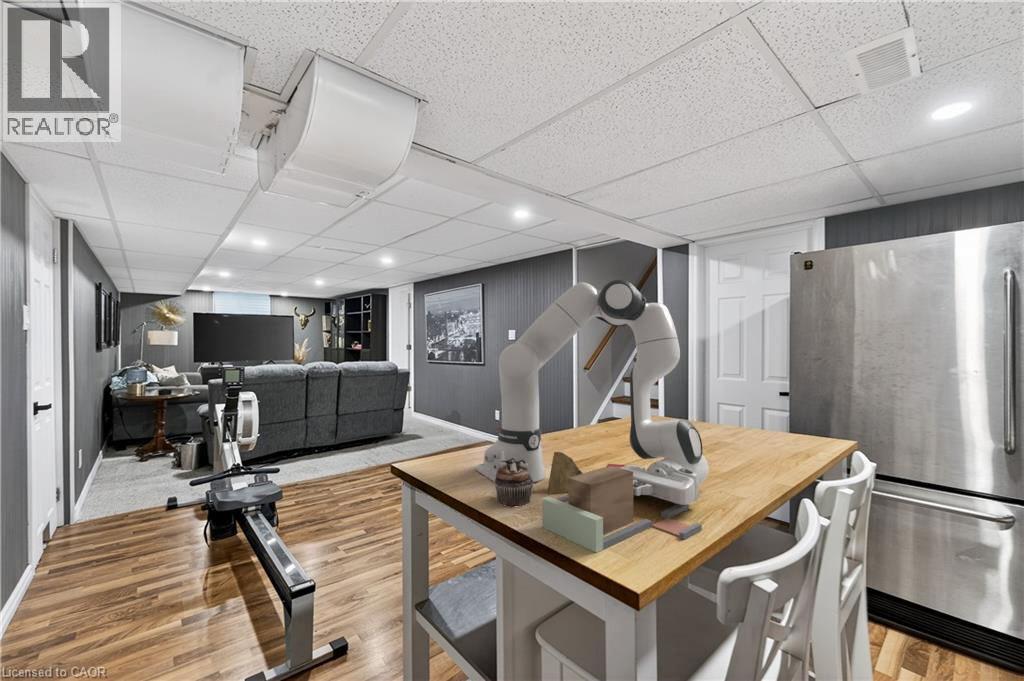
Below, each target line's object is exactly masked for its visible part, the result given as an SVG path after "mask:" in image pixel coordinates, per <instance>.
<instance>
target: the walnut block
mask: <svg viewBox="0 0 1024 681" xmlns="http://www.w3.org/2000/svg"><path fill="white" fill-rule="evenodd" d="M567 494H568V504H570V505H572V506H575V507H577V508H580V509H582V510H585V511H588V512H590V513H593V514H595V515H598V516H600V517H603V536H606V535H607V534H609V533H610V534H611V533H612V532H614V531H616V530H618V529H619V530H620V529H622V528H623V527H625V526H627V525H628V526H629V524H633V523H634V497H633V471H629V470H626V469H622V468H618V467H614V466H608V467H606V466H605V467H601V468H598V469H594V470H591V471H587V472H584V473H583V472H582V474H580V475H576V476H573V477H569V478H568V492H567Z"/></svg>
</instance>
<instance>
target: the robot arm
mask: <svg viewBox="0 0 1024 681" xmlns="http://www.w3.org/2000/svg"><path fill="white" fill-rule="evenodd" d="M594 318H597V319H598V320H600V321H602V322H605V323H606V324H608V325H610V326H613V327H624V326H629V327H630V329H631V331H632V332H633V335H634V340H635V346H636V358H635V364H634V367H632V368H631V371H630V376H629V391H630V393H629V396H630V400H629V401H630V430H629V444H630V447H631V449H632V451H633V452H634V453H635V454H636V455H637V456H638V457H639V458H641V459H643V460H651V459H652V460H653V459H658V458H659V459H660V458H662V459H660V460H657V461H655V462H654V461H653V462H652V463H650V464H649V466H648V467H647V469H646V468H645V469H641V468H637V467H633V466H625V467H619V468H622V469H626V470H629V471H633V495H636V496H635V497H640V496H651V497H655V498H657V499H661V500H664V501H668V502H670V503H673V504H676V505H678V504H680V505H687V504H689V505H690V504H692V503H695V502H697V501H698V500H699V491H700V490H699V486H700V485H701V484H702V483H703V482H704V481H705V480H706V479H707V477H708V474H709V471H710V467H709V463H708V460H707V459H706V457H705V456H704V455H703V442H702V441H703V440H702V438H701V435H700V433H699V431H698V430H697V428H696V427H695V426H694V425H693V424H692V423H691V422H690V421H688V420H687V419H684V418H682V419H668V420H661V421H653V420H652V416H651V412H652V411H651V391H652V389H653V386H654V385H655V384H656V383H657V382H658V381H660V380H661V379H662V378H664V377H665V376H667V375H669V373H671V372H672V371H673V370H674V369H675V368H676V367H677V365H678V364H679V361H680V358H681V350H680V349H681V348H680V343H679V338H678V335H677V330H676V326H675V323H674V320H673V318H672V316H671V314H670V310H669V309H668V307H667V306H666V305H665V304H664V303H660V302H659V303H658V302H647V299H646V297H644V296H643V295H642V293H641V292H640V291H639V290H638V289H637V287H635V286H634V285H633V283H631V282H629V281H627V280H625V279H615V280H612V281H609V282H608V283H606V284H605V285H604V286H603V287H602V288H601V289H597V288H596V287H594V286H593V285H592V284H590V283H587V282H582V281H580V282H578V283H575V284H574V285H572V287H571V286H570V287H569V288H568V289H567V290H566V291H565V292H563V293H562V294H561V295H560V296H559V297H558V298H557V299H555V300H554V301H553V303H551V305H549V306H548V307H547V309H545V310H544V311H543V313H542V314H540V315H539V316H538V317H537V318H536V319H535V321H534V322H533V323H532V324H531V325H529V327H528V328H527V329H526V330H525V331H524V333H523V334H522V335H521V336H520V337H519V338H518V339H517V340H516V341H515V342H514V343H512V344H509V345H508V346H506V347H505V348H504V349H503V350H502V351H501V352H500V355H499V359H498V370H499V386H500V394H501V395H500V397H501V427H499V428H496V434H497V433H499V434H498V436H497V440H496V441H495V442H493V444H491V445H490V446H488V447H487V448H486V450H485V451H484V455H483V463H481V464H479V465H477V466H475V470H476V471H477V472H479V473H481V475H483V476H485V477H486V478H488V479H489V480H491V481H492V482H493V483H495V479H496V477H497V476H496V473H497V471H498V469H499V463H501V462H502V461H507V460H508V459H512V458H514V460H516V461H520V460H524V461H525V462H526V463H527V464H528V468H527V469H528V470H529V472H530V476H531V478H532V480H533V483H535V482H539V481H542V480H544V479H545V478H546V473H545V472H546V466H544V458H543V448H542V444H541V441H542V431H541V427H540V390H539V388H540V387H539V370H540V369H541V368H542V367H544V365H545V364H547V363H548V362H549V360H551V359H552V357H554V356H555V354H557V353H558V352H559V351H560V350H561V349H562V348H563V347H564V346H565V345H566V344H567V343H568V342H569V341H570V340H572V338H573V337H574V336H575V335H576V334H577V333H578V332H580V330H581V329H582V328H583V327H584V326H585V325H587V323H588V322H590V320H592V319H594Z"/></svg>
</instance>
